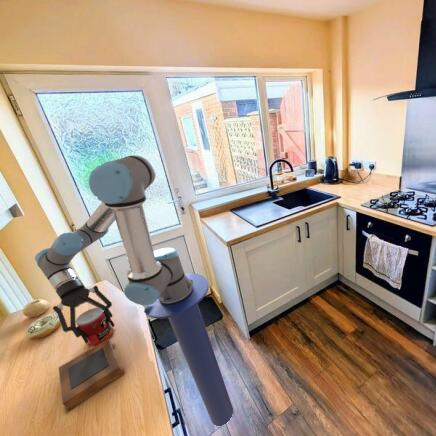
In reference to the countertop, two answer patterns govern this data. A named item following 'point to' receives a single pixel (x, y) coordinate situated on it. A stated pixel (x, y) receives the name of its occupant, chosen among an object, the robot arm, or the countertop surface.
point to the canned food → (94, 326)
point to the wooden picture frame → (88, 374)
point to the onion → (35, 308)
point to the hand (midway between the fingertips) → (100, 333)
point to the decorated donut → (43, 326)
